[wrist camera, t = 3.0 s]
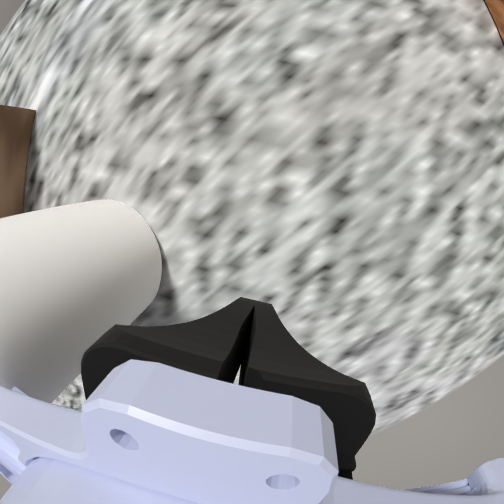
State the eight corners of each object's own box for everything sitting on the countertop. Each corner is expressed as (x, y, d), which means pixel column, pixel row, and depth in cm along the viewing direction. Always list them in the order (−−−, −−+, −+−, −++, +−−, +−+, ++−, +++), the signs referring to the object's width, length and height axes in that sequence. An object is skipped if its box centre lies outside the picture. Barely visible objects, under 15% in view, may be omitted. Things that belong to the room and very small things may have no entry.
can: (147, 332, 16) (15, 492, 4) (62, 281, 16) (-88, 371, 4) (183, 228, 14) (-46, 359, 2) (84, 181, 14) (-120, 214, 2)
